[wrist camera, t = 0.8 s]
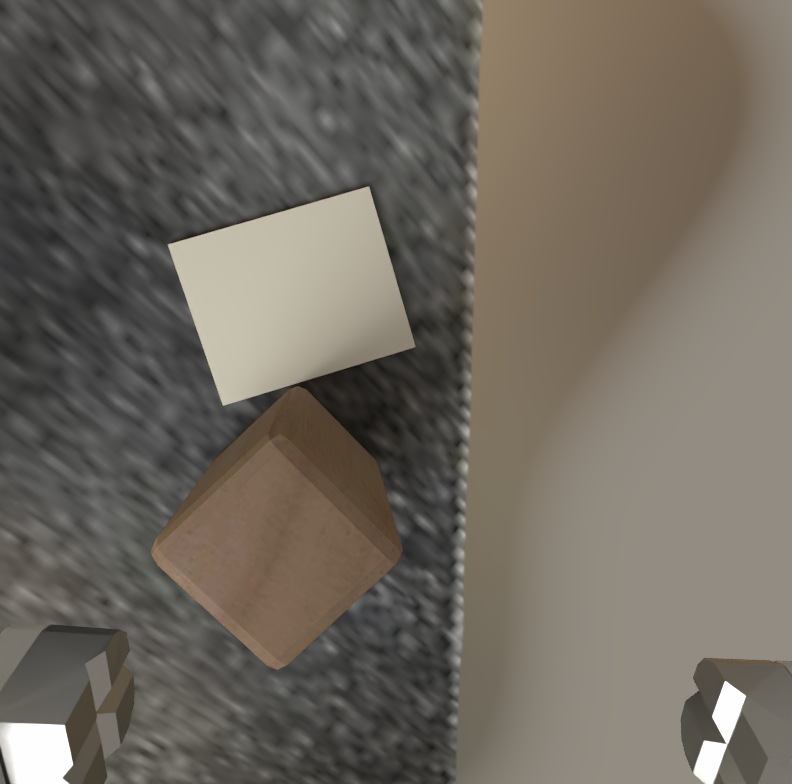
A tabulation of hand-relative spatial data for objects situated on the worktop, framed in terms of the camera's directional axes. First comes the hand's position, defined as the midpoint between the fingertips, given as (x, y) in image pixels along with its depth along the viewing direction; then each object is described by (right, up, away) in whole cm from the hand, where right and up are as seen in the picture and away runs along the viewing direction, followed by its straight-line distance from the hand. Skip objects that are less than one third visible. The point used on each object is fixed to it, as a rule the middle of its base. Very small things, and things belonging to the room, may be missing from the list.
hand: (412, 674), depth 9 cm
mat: (-8, +12, +43) cm, 45 cm away
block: (-8, -2, +45) cm, 46 cm away
